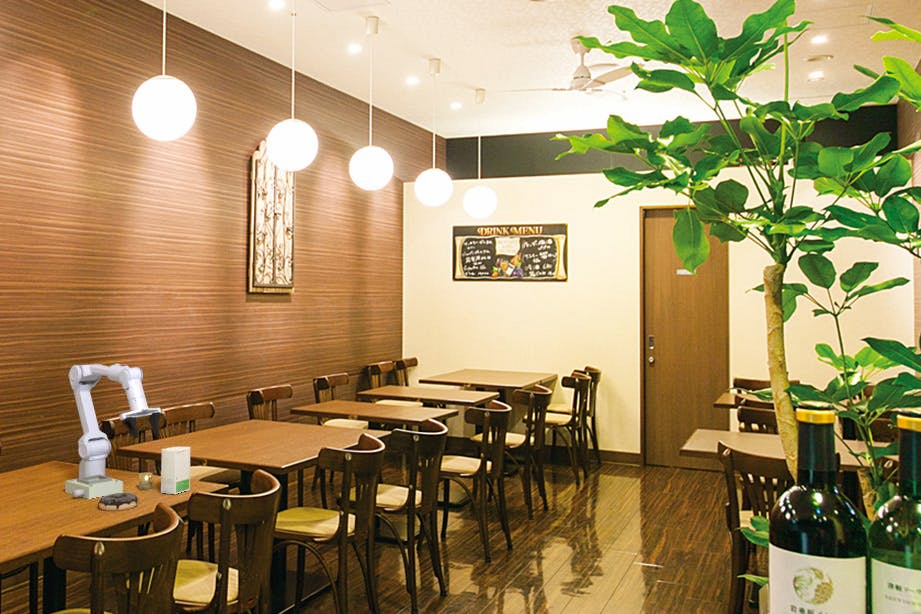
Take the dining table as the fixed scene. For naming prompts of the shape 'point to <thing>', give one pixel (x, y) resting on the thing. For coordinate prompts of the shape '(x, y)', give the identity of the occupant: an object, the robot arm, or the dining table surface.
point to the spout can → (145, 481)
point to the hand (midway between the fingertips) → (146, 435)
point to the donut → (118, 502)
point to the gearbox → (93, 486)
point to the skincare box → (175, 470)
